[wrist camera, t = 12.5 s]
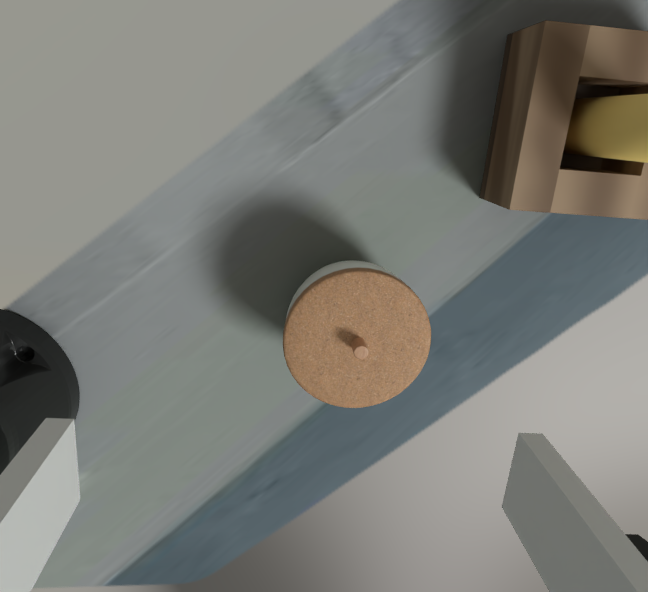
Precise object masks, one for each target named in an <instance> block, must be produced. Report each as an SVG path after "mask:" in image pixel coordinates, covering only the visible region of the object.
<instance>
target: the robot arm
mask: <svg viewBox="0 0 648 592" xmlns="http://www.w3.org/2000/svg"><path fill="white" fill-rule="evenodd" d="M78 408H79V386H78V381H77V377H76V374H75V371H74V369H73V366H72V364H71V362H70V361H69V359H68V357H67V356H66V354H65V353H64V351H63V350H62V348H61V347H60V346H59V345H58V344H57V343H56V341H55V340H54V339H53V338H52V337H51V336H49V335H48V334H47V333H46V332H45V331H44V330H42V329H41V328H40V327H38V326H37V325H35V324H34V323H32V322H30V321H28V320H27V319H25V318H23V317H21V316H19V315H16V314H14V313H11V312H8V311H5V310H2V309H0V592H30V591H31V590H32V588H33V586H34V584H35V582H36V580H37V579H38V577H39V575H40V573H41V571H42V569H43V567H44V566H45V564H46V562H47V560H48V558H49V556H50V554H51V553H52V551H53V549H54V547H55V545H56V543H57V541H58V540H59V538H60V536H61V534H62V532H63V530H64V529H65V527H66V525H67V523H68V521H69V519H70V517H71V516H72V514H73V512H74V510H75V508H76V506H77V504H78V503H79V501H80V489H79V476H78V463H77V450H76V437H75V424H74V421H75V419H76V416H77V412H78ZM502 508H503V510H504V512H505V513H506V515H507V517H508V519H509V521H510V522H511V524H512V526H513V528H514V529H515V531H516V533H517V535H518V537H519V538H520V540H521V542H522V544H523V545H524V547H525V549H526V551H527V553H528V554H529V556H530V558H531V560H532V562H533V563H534V565H535V567H536V569H537V570H538V572H539V574H540V576H541V578H542V579H543V581H544V583H545V585H546V586H547V588H548V590H549V592H648V542H647V541H646V540H645V539H643V538H642V537H641V536H639V535H631V534H629V535H628V534H624V532H623V531H622V530H621V529H620V527H619V526H618V525H617V524H616V523H615V521H614V520H613V519H612V518H611V517H610V515H609V514H608V513H607V512H606V510H605V509H604V508H603V507H602V506H601V504H600V503H599V502H598V501H597V499H596V498H595V497H594V496H593V495H592V494H591V492H590V491H589V490H588V489H587V487H586V486H585V485H584V484H583V482H582V481H581V480H580V479H579V478H578V477H577V476H576V474H575V473H574V471H573V470H572V469H571V468H570V467H569V465H568V464H567V463H566V462H565V461H564V460H563V458H562V457H561V456H560V455H559V453H558V452H557V451H556V450H555V448H554V447H553V446H552V445H551V444H550V442H549V441H548V440H547V439H546V437H545V436H544V435H543V434H534V433H532V434H531V433H519V434H518V438H517V442H516V447H515V451H514V456H513V460H512V464H511V469H510V473H509V478H508V482H507V486H506V491H505V496H504V500H503V505H502Z"/></svg>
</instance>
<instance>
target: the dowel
mask: <svg viewBox="0 0 648 592" xmlns="http://www.w3.org/2000/svg"><path fill="white" fill-rule="evenodd" d="M563 153H567V154H576V155H585V156H593V157H602V158H610V159H619V160H628V161H636V162H645V163H648V94H636V95H622V96H609V97H595V98H582V99H575V100H574V104H573V109H572V114H571V118H570V123H569V127H568V132H567V137H566V141H565V146H564V151H563Z"/></svg>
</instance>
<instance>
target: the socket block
mask: <svg viewBox="0 0 648 592" xmlns="http://www.w3.org/2000/svg"><path fill="white" fill-rule="evenodd" d="M636 94H648V31H640V30H630V29H621V28H612V27H603V26H593V25H584V24H575V23H565V22H556V21H547V20H545V21H543V22H540V23H537V24H535V25H532V26H530V27H527V28H524V29H522V30H519V31H517V32H514V33H511V34H509V35H508V36H507V41H506V47H505V53H504V59H503V65H502V70H501V76H500V82H499V88H498V94H497V99H496V105H495V111H494V117H493V123H492V128H491V134H490V140H489V146H488V152H487V157H486V163H485V169H484V175H483V181H482V186H481V192H480V198H481V199H484V200H487V201H489V202H492V203H494V204H497V205H499V206H502V207H504V208H507V209H509V210H522V211H535V212H549V213H563V214H577V215H590V216H604V217H618V218H632V219H646V220H648V163H645V162H636V161H628V160H619V159H610V158H602V157H593V156H585V155H576V154H567V153H563V151H564V146H565V141H566V137H567V132H568V127H569V123H570V118H571V114H572V109H573V104H574V100H575V99H582V98H595V97H609V96H622V95H636Z"/></svg>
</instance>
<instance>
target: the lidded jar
mask: <svg viewBox="0 0 648 592" xmlns="http://www.w3.org/2000/svg"><path fill="white" fill-rule="evenodd" d="M430 343H431V327H430V322H429V318H428V315H427V312H426V310H425V308H424V306H423V304H422V303H421V301H420V299H419V298H418V296H417V295H416V294H415V293H414V292H413V291H412V289H411V288H410V287H409V286H407V285H406V284H405V283H404V282H403V281H402V280H401V279H400V278H398V277H397V276H396V275H395V274H393V273H392V272H390V271H388V270H387V269H385V268H383V267H381V266H378V265H376V264H373V263H369V262H364V261H355V260H348V261H340V262H336V263H332V264H330V265H327V266H325V267H322V268H321V269H319V270H318V271H316V272H314V273H313V274H312V275H311V276H310V277H308V278H307V279H306V280H305V281H304V282H303V284H302V285H301V286H300V287H299V288H298V290H297V291H296V293H295V295H294V296H293V298H292V301H291V303H290V306H289V308H288V312H287V316H286V321H285V326H284V331H283V349H284V356H285V360H286V363H287V366H288V368H289V370H290V372H291V374H292V376H293V377H294V379H295V380H296V381H297V383H298V384H299V385H300V386H301V387H302V388H303V389H304V390H305V391H306V392H308V393H309V394H311V395H312V396H313V397H315V398H317V399H319V400H321V401H323V402H325V403H328V404H331V405H334V406H340V407H346V408H359V407H368V406H372V405H376V404H379V403H382V402H384V401H387V400H389V399H391V398H393V397H394V396H396V395H398V394H399V393H401V392H402V391H403V390H404V389H406V388H407V387H408V386H409V385H410V384H411V383H412V382H413V381H414V380H415V378H416V377H417V376H418V374H419V373H420V371H421V370H422V368H423V366H424V364H425V362H426V360H427V356H428V353H429V350H430Z"/></svg>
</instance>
